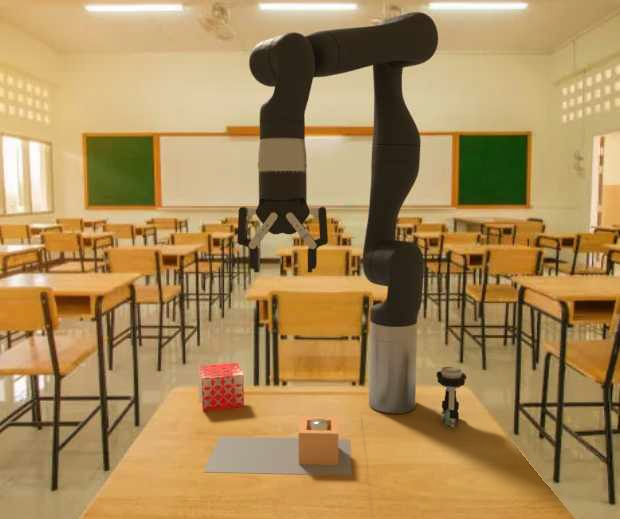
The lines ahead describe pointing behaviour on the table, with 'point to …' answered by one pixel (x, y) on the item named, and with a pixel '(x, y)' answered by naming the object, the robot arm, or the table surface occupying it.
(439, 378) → the push button
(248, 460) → the base plate
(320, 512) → the table surface
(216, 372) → the red white patterned cube
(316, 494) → the table surface
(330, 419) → the collar
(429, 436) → the table surface
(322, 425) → the steel post
